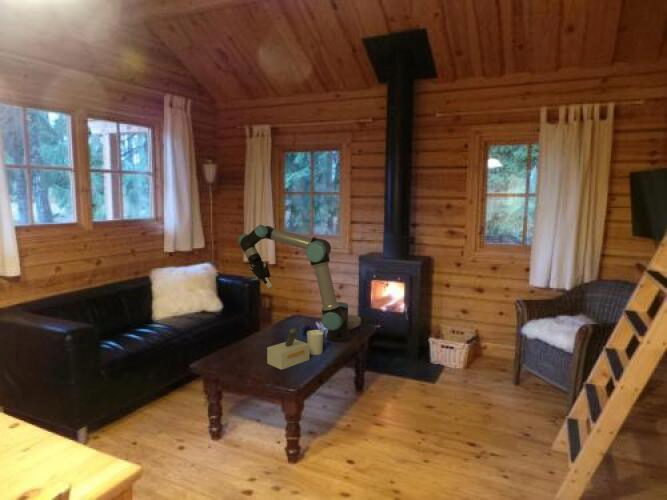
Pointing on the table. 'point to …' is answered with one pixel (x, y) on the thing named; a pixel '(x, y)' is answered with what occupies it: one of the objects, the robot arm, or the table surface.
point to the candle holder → (315, 341)
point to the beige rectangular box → (287, 354)
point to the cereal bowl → (353, 321)
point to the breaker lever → (291, 336)
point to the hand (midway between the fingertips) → (270, 287)
